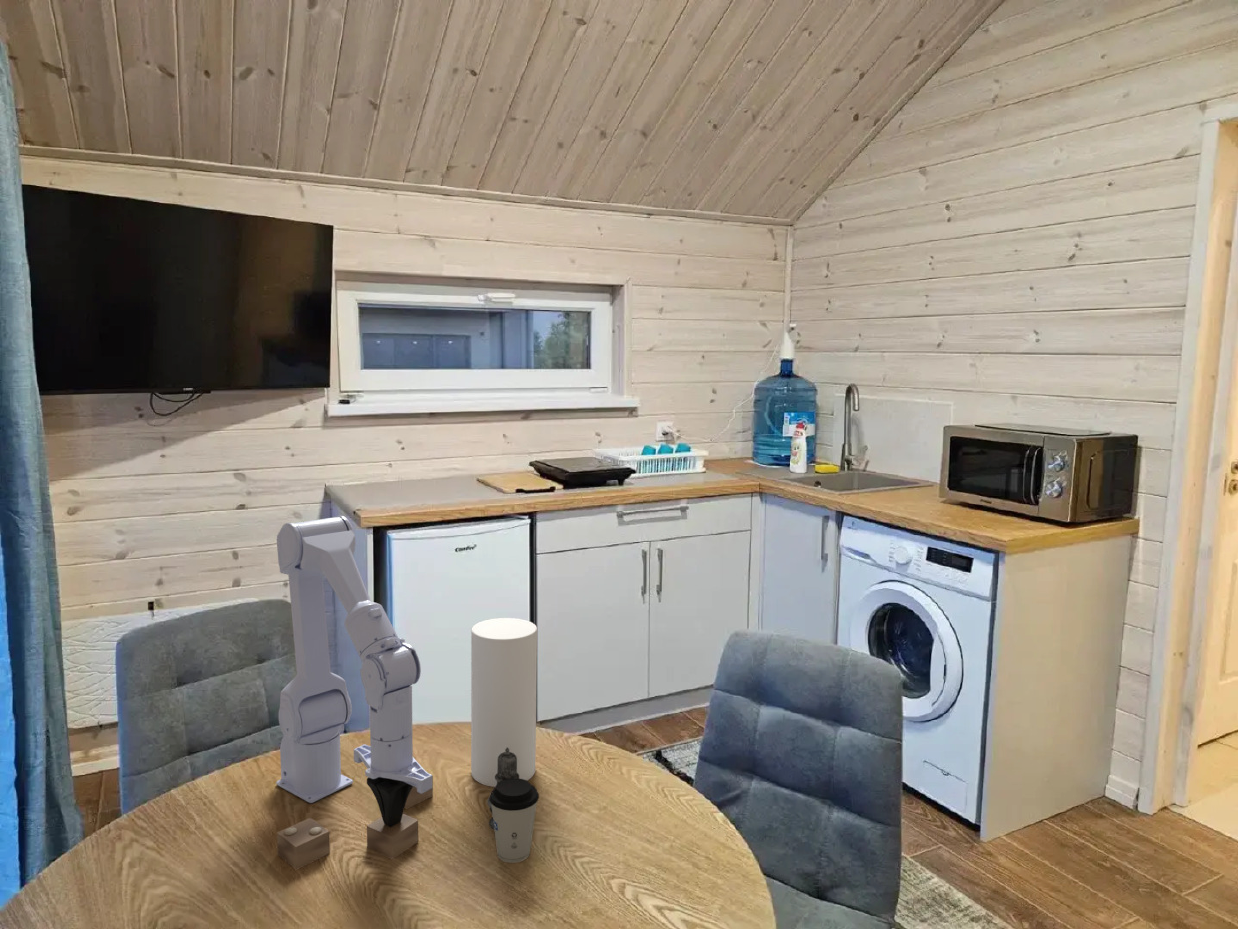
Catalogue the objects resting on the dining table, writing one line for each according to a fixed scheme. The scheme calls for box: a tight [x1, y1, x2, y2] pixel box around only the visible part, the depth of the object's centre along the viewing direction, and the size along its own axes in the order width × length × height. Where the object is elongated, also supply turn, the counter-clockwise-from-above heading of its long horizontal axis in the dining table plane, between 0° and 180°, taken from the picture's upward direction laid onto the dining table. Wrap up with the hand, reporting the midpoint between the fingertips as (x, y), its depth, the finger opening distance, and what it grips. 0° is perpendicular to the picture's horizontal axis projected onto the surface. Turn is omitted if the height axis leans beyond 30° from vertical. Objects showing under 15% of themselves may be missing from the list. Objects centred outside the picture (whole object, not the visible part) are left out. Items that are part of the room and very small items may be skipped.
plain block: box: [366, 813, 419, 860], centre depth 119 cm, size 5×5×4 cm
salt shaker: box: [486, 747, 519, 831], centre depth 125 cm, size 6×6×12 cm
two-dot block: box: [276, 817, 331, 870], centre depth 117 cm, size 5×5×4 cm
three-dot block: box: [404, 775, 434, 810], centre depth 132 cm, size 5×5×4 cm
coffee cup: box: [488, 778, 540, 864], centre depth 118 cm, size 7×7×10 cm
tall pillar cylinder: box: [470, 617, 538, 788], centre depth 139 cm, size 11×11×25 cm
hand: (392, 822), depth 119 cm, fingers closed
